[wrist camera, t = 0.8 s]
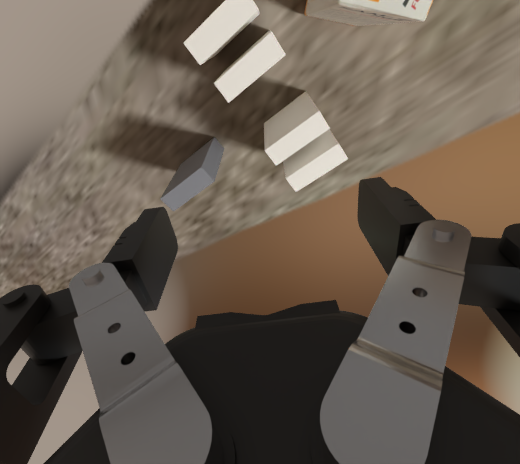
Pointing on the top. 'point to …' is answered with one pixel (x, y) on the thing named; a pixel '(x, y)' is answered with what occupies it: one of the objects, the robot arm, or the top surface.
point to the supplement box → (369, 11)
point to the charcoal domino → (194, 175)
